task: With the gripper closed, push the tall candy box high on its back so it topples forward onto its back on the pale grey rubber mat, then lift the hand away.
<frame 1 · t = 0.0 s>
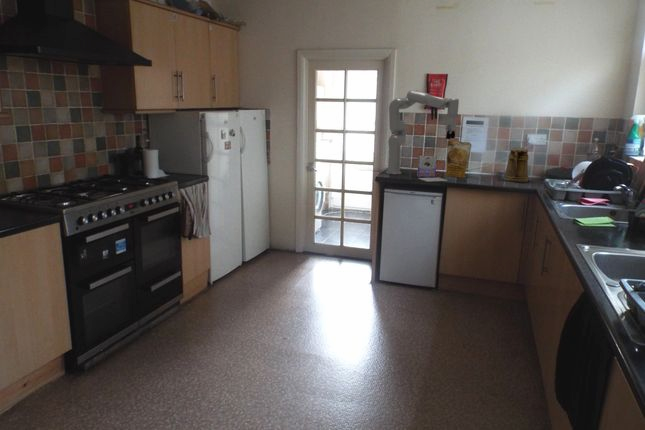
hand: (450, 138, 361), 31 cm above the table, tool pointing down, fingers open, 9 cm apart
pancake mix bag: (455, 176, 384), on the table
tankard: (515, 181, 371), on the table
candy box: (426, 177, 377), on the table
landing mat: (433, 179, 367), on the table
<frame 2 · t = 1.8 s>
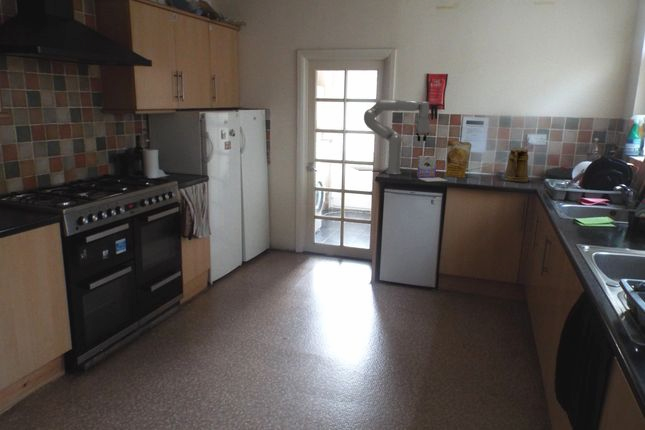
hand: (421, 140, 382), 27 cm above the table, tool pointing down, fingers open, 4 cm apart
candy box: (426, 177, 377), on the table, touching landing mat
everything else where it was.
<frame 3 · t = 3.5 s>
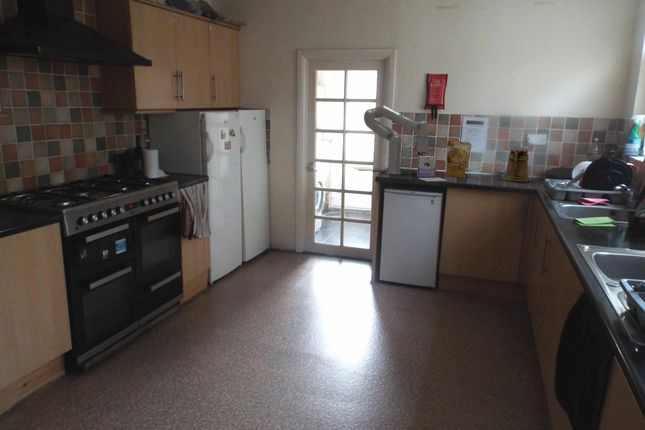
hand: (420, 160, 386), 12 cm above the table, tool pointing down, fingers closed
nothing on the table moved.
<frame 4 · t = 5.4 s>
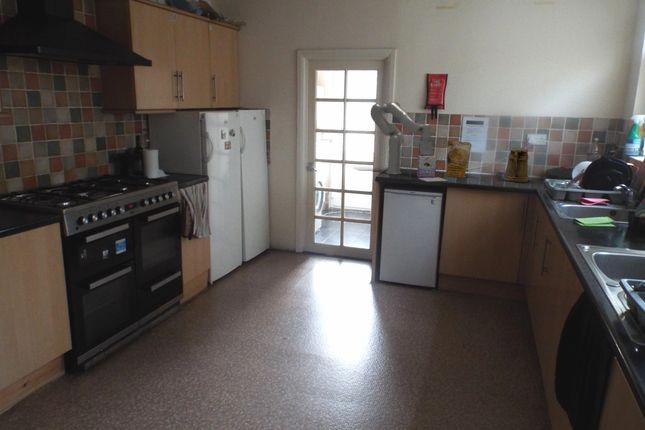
hand: (424, 163, 380), 10 cm above the table, tool pointing down, fingers closed
nothing on the table moved.
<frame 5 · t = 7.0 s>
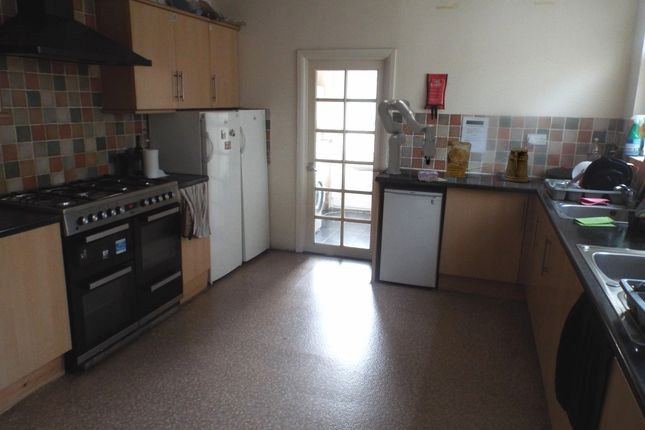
hand: (427, 164, 374), 10 cm above the table, tool pointing down, fingers closed
candy box: (426, 173, 374), point 3 cm above the table, touching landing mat
everything else where it was.
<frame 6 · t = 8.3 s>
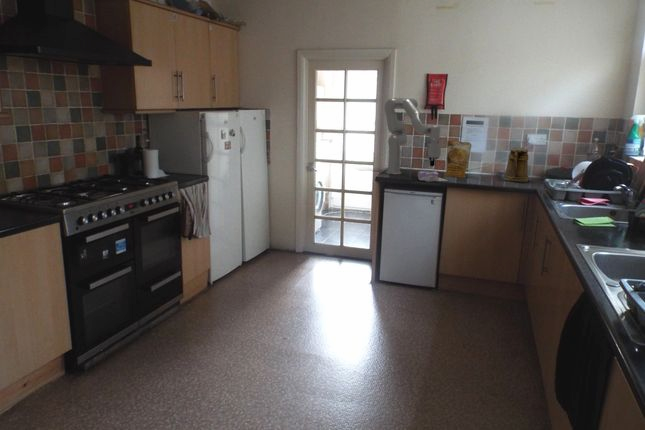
hand: (432, 165, 367), 10 cm above the table, tool pointing down, fingers closed
nothing on the table moved.
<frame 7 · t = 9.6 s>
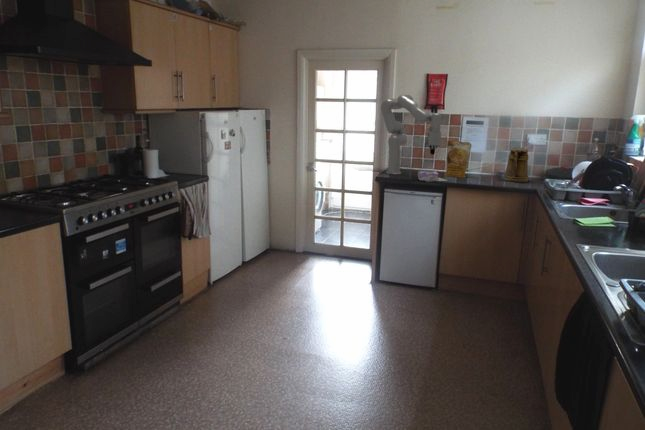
hand: (432, 154, 366), 19 cm above the table, tool pointing down, fingers closed
nothing on the table moved.
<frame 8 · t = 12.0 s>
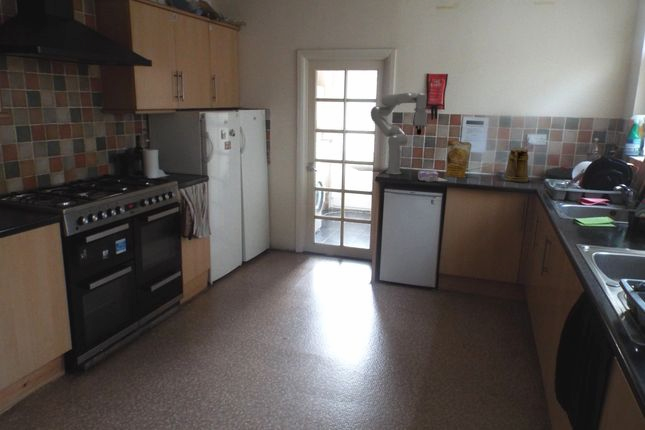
hand: (418, 134, 369), 33 cm above the table, tool pointing down, fingers closed
nothing on the table moved.
at the end: candy box tilted 90°; candy box inside the target area (2.8 cm from its centre), point 3.3 cm above the table; candy box touching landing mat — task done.
